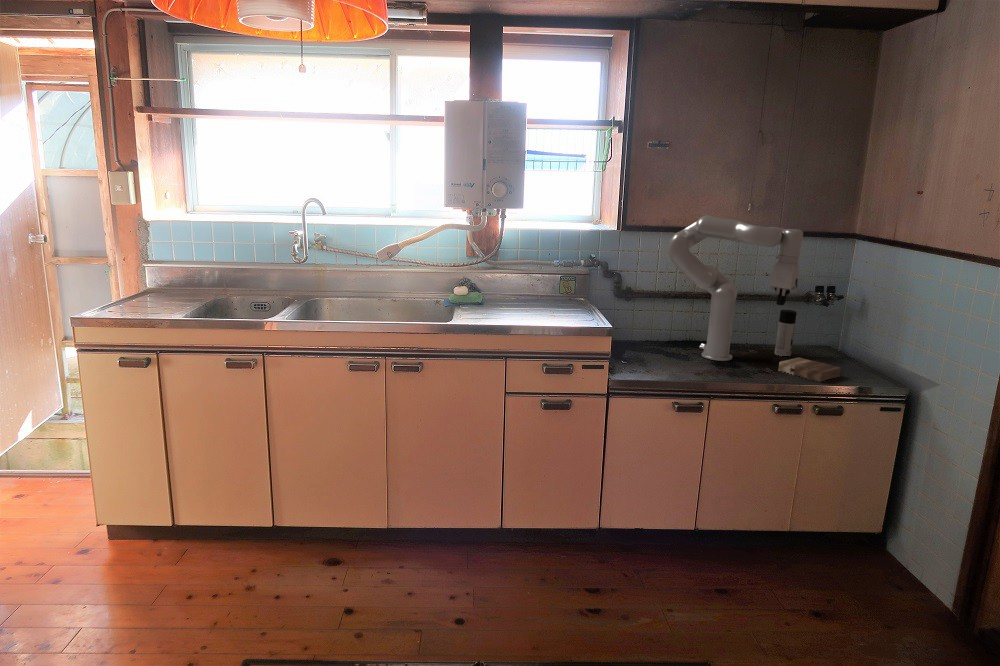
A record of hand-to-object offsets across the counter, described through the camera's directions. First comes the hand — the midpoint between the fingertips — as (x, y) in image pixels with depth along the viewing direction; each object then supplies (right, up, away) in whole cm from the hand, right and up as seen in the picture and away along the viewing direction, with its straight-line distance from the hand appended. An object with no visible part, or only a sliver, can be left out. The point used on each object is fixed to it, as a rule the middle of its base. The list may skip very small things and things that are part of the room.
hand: (780, 304), depth 266 cm
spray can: (+10, -22, +22) cm, 32 cm away
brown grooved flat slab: (+11, -29, -8) cm, 32 cm away
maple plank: (+5, -27, -1) cm, 27 cm away
